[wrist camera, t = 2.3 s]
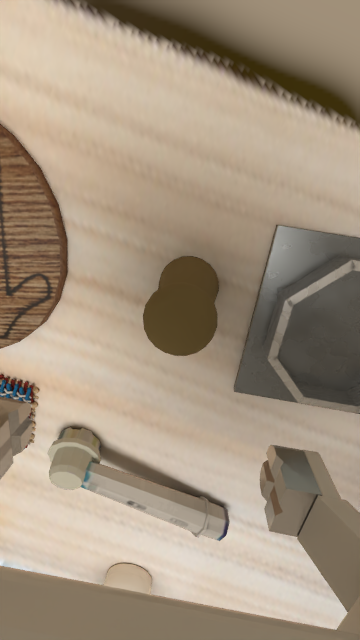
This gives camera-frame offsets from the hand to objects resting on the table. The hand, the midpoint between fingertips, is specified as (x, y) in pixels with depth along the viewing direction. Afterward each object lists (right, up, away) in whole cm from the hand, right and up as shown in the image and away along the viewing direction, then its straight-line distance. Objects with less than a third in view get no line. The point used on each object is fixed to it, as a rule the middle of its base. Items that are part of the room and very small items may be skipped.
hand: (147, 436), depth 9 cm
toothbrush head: (-4, -17, +29) cm, 34 cm away
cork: (+2, +7, +19) cm, 20 cm away
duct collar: (+17, +3, +19) cm, 26 cm away
